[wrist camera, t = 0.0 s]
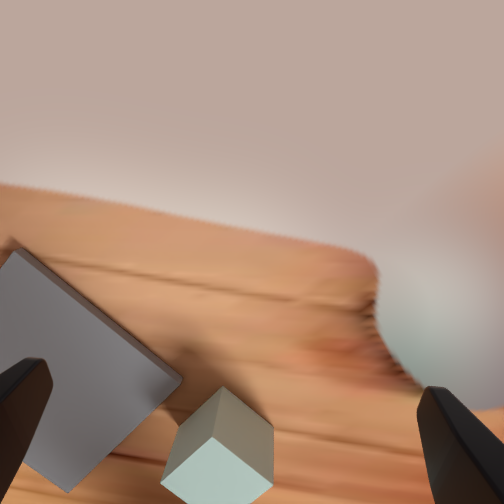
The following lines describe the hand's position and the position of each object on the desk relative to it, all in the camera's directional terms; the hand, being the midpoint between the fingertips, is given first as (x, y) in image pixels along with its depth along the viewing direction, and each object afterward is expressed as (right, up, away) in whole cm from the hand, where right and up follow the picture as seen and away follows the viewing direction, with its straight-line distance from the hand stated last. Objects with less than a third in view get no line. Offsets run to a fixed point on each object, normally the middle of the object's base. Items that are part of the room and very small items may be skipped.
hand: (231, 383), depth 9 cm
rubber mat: (-14, -6, +19) cm, 24 cm away
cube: (-1, -10, +19) cm, 22 cm away
